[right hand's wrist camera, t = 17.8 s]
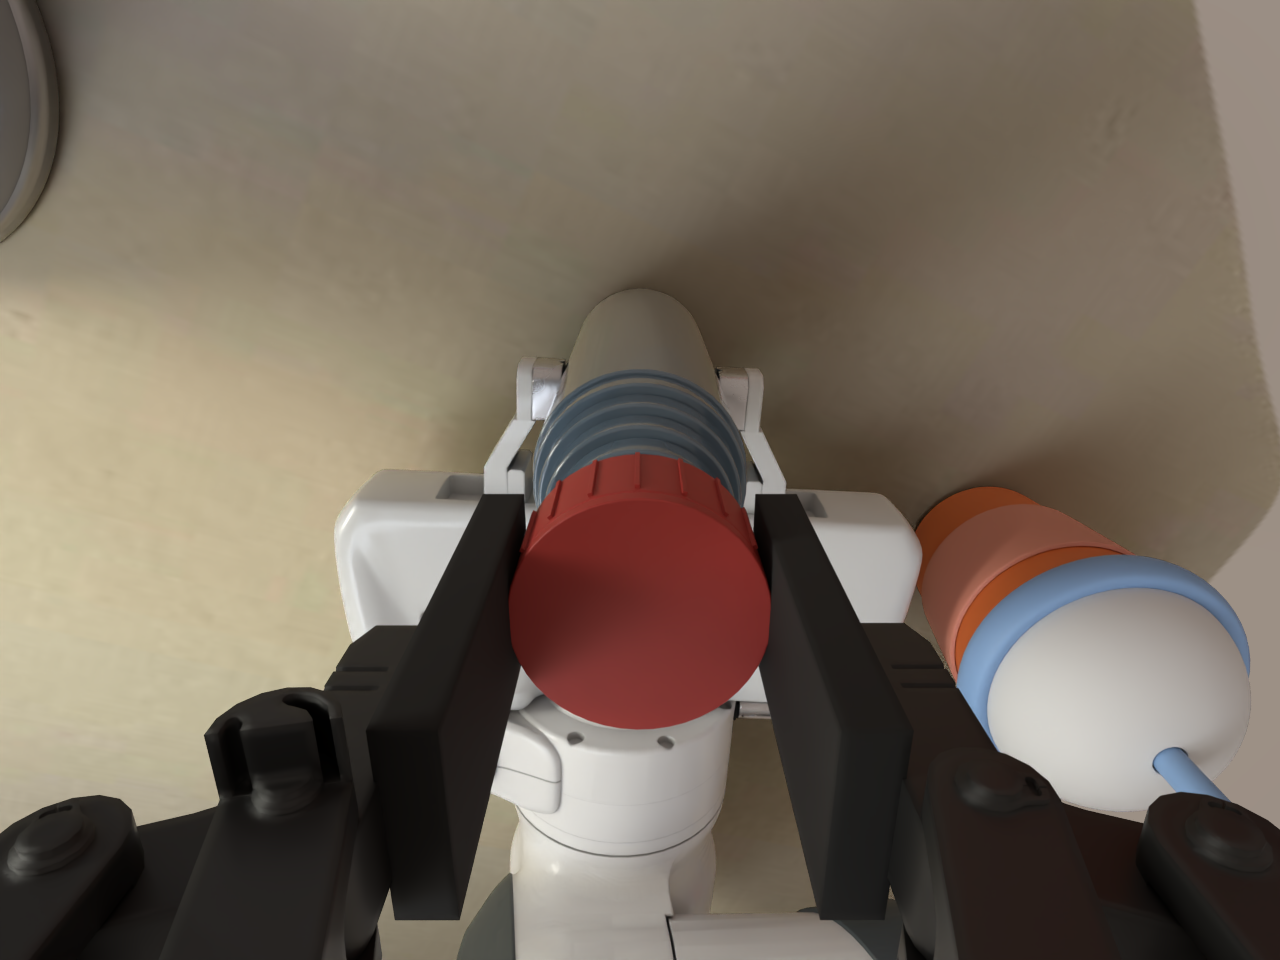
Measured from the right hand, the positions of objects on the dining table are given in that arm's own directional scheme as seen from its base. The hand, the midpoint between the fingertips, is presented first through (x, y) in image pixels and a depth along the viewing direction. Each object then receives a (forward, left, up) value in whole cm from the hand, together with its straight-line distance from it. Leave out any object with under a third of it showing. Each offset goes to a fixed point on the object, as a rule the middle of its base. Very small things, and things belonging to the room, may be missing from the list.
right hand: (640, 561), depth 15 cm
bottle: (0, 0, -19) cm, 19 cm away
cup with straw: (+9, -15, -19) cm, 26 cm away
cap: (0, 0, +2) cm, 2 cm away
